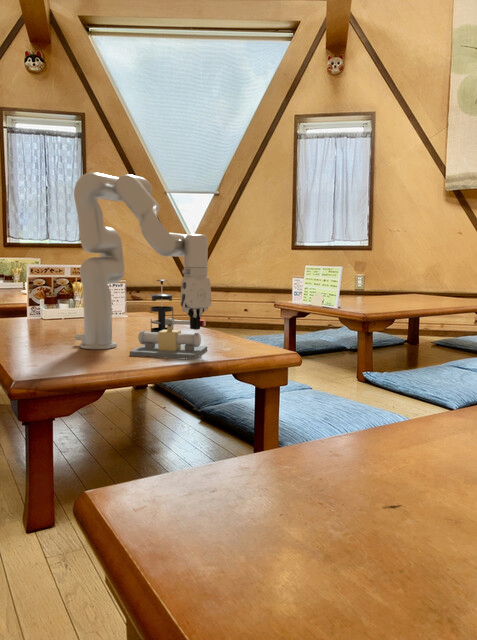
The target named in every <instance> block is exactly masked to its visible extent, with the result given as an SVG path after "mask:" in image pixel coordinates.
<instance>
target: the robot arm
mask: <svg viewBox="0 0 477 640" xmlns="http://www.w3.org/2000/svg"><path fill="white" fill-rule="evenodd" d="M152 195H153V188H152V184H151V183H150V182H149V180H148V179H146V178H145V177H142V176H138V175H134V174H127V173H126V174H122V175H120V176H113V175H109V174H105V173H100V172H93V171H92V172H91V171H90V172H87V173H84V174H83V175H81V176H80V177H79V178H78V180H77V181H76V183H75V185H74V188H73V197H74V202H75V209H76V212H77V220H78V221H77V223H78V231H79V237H80V238H79V239H80V245H81V248H82V249H83V250H84V252H87V253H89V254H99V256H93V257H90V258H86V259H85V260H84V261H82V263H81V265H80V268H79V277H80V281H81V284H82V285H81V286H82V297H83V298H82V300H83V327H84V329H83V331H84V332H83V333H82V334H79V333H78V334H77V333H76V334H75V335H74V340H75V341H81V343H80V344H79V347H80V348H81V349H84V350H107V349H109V350H110V349H113V348H115V347H117V346H118V345H117V342H116V341H113V315H112V314H113V312H112V309H113V308H112V303H113V302H112V293H111V290H110V288H109V284H110V285H111V284H115V283H118V282H120V281H121V280H122V279H123V277H124V275H125V260H124V259H125V258H124V252H123V251H124V250H123V243H122V239H121V235H120V234H119V232H118V231H117V230H116V229H114V228H113V227H110V226H105V222H104V213H103V210H102V207H101V206H100V203H99V201H98V200H105V201H111V202H123V203H124V204H125V205H126V207H127V208H128V209H129V210H130V212H132V214H133V216H134V217H135V218H136V219H137V220H138V222H139V223H138V224H139V225H138V226H139V228H140V231H141V234H142V236H143V238H144V240H146V242H147V243H148V244H149V246H150V247H151V248H152V249H153V250H154V251H155V252H156V253H157V254H159V255H160V256H162V257H179V258H180V257H183V269H182V271H181V272H182V274H183V277H182V279H181V286H180V299H179V301H180V306H181V313H182V312H183V313H187V315H188V317H189V321H190V325H189V329H190V330H194V331H195V330H196V331H197V330H201V327H200V319H201V318H202V317H203V313H204V312H206V311H208V310H209V308H210V307H211V306H212V287H211V279H210V277H209V276H208V257H209V256H208V255H209V254H208V252H209V251H208V249H209V245H208V244H209V238H208V236H207V235H206V234H202V233H201V234H200V233H199V234H198V233H190V234H184V233H176V232H169V231H168V230H167V229H166V228H165V226H164V225H163V224H162V223H161V221H160V220H159V218H158V214H159V212H160V209H161V207H160V205H159V203H158V202H157V201H156V199H155V198H154V197H153V196H152Z"/></svg>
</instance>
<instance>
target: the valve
mask: <svg viewBox="0 0 477 640" xmlns="http://www.w3.org/2000/svg"><path fill="white" fill-rule="evenodd" d="M166 327H167V330H162V331H159V332H158V333H157V332H151V331H147V330H145V329H141V330H140V331H139V332H138V336H137V338H138V343H139V344H140V345H141V346H138V347H135V348H134V349H132V350H129V357H130V356H131V357H143V356H150V357H149V358H160V357H167V358H166V359H177V358H185V359H184V360H195V358H196V357H197V358H199V357H200V356H202V355H203V354H204V353H207V351H208V346H207V345H201V343H202V335H201V334H200V333H199V332H194V333H193V334H191V333H182V332H181V331H182V330H180V329H173V330H172V326H168V325H166ZM201 354H202V355H201ZM199 355H200V356H199ZM198 356H199V357H198ZM186 358H187V359H186ZM197 358H196V359H197Z"/></svg>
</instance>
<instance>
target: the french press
mask: <svg viewBox="0 0 477 640" xmlns="http://www.w3.org/2000/svg"><path fill="white" fill-rule="evenodd" d="M167 281H168V280H167V279H156V282H160V285H161V286H160V288H161V289H160V290H161V292H160V293H155V294H150V297H151V301H152V302H155V301H156V302H157V300H158V301H159V300H160V301H161V303H160V304H161V305H160V306H159V305H156V306H150V312H155V313H158V314H157V315H158V317H157V319H155V320H150V332H157V333H158V332H159V331H162V330H167V326H166V325H165V319H166V312H167V313H169V312H171V313H172V314H171V316H172V317H171V319H174V307H173V306H169V305H163V301H164V300H166V301H167V300H168V301H170V302H172V301H173V297H174V295H173V294H169V293H163V285H164V282H167ZM153 324H155V325H158V326H157V327H152V325H153ZM172 330H174V325H172Z"/></svg>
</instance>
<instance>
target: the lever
mask: <svg viewBox="0 0 477 640" xmlns="http://www.w3.org/2000/svg"><path fill="white" fill-rule="evenodd" d="M206 324H207V323H206V319H201V318H200V328H201V327H206ZM172 325H173V326H175V325H185V326H186V325H188V326H190V319H189V320H187V319H186V320H185V319H184V320H181V319H175V318H173V319H172V317H171V318H165V326H172Z"/></svg>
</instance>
